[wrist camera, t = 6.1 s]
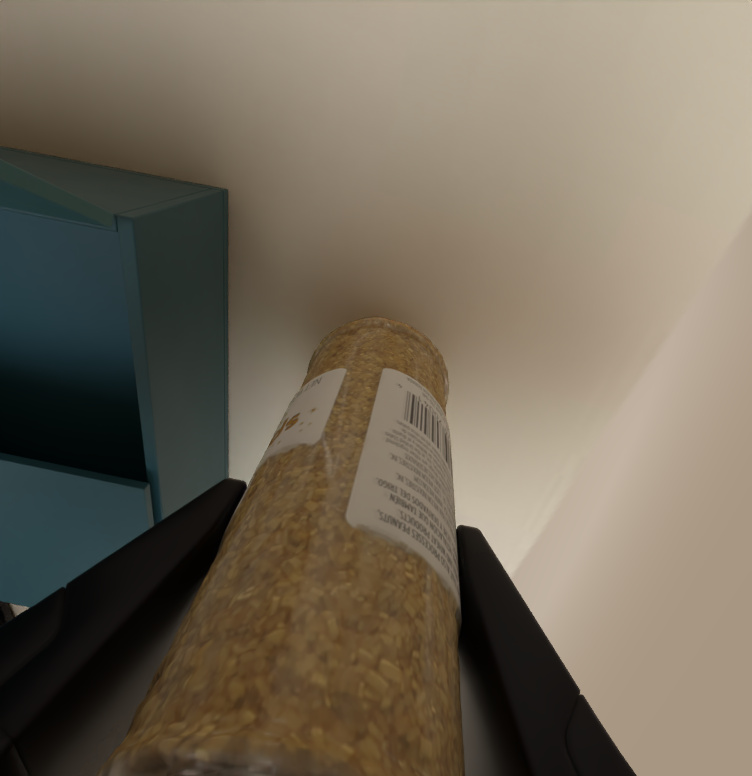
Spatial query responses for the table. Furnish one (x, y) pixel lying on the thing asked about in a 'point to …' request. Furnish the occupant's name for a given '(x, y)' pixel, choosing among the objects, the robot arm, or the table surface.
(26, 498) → the box
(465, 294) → the table surface
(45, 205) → the panel
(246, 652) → the sprinkles bottle
